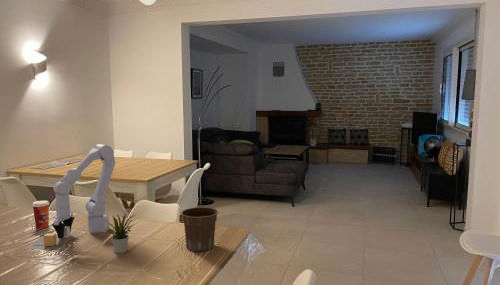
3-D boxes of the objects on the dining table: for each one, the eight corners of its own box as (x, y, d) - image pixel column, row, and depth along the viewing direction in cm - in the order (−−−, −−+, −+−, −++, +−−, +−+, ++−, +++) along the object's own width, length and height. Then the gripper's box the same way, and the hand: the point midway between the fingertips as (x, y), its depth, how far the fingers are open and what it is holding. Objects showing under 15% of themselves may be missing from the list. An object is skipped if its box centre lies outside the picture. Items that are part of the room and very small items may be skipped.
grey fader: (70, 235, 182) (69, 225, 181) (67, 238, 179) (66, 227, 178) (61, 235, 182) (61, 225, 181) (58, 238, 179) (58, 227, 178)
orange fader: (56, 243, 172) (55, 233, 171) (53, 246, 169) (52, 235, 168) (47, 243, 172) (46, 233, 171) (44, 246, 169) (43, 235, 168)
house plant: (146, 246, 172) (145, 211, 170) (127, 258, 159) (126, 220, 157) (120, 242, 176) (119, 208, 175) (99, 254, 163) (97, 217, 162)
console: (74, 236, 184) (74, 234, 184) (56, 251, 167) (56, 248, 166) (45, 236, 184) (45, 234, 184) (24, 251, 166) (23, 248, 166)
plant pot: (195, 238, 183) (195, 205, 181) (225, 243, 176) (224, 209, 174) (174, 249, 168) (173, 214, 166) (205, 256, 161) (205, 219, 159)
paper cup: (43, 231, 192) (41, 204, 190) (30, 230, 193) (28, 203, 192) (54, 226, 199) (52, 200, 198) (41, 225, 201) (39, 199, 199)
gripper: (61, 202, 186) (63, 229, 187) (46, 211, 171) (47, 240, 173) (76, 202, 186) (77, 229, 187) (61, 211, 172) (63, 240, 173)
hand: (64, 235), depth 180 cm, fingers open, 6 cm apart
